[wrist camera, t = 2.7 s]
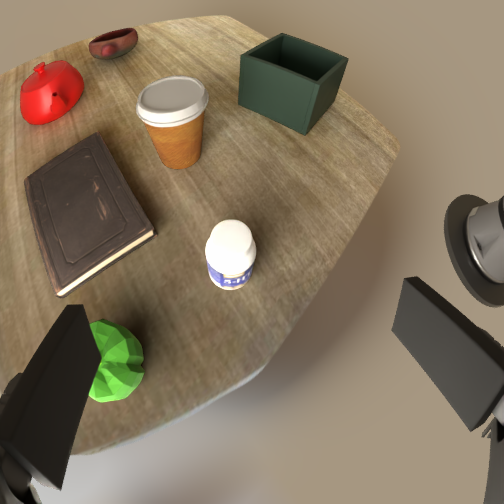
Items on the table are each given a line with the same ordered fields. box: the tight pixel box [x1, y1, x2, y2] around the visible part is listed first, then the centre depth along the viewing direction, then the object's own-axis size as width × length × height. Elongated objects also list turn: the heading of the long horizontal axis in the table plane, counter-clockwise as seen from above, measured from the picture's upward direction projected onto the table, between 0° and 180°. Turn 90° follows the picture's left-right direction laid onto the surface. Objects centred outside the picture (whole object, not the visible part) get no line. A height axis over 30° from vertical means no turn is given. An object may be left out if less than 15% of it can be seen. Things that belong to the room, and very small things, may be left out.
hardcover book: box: [24, 131, 158, 298], centre depth 37 cm, size 16×23×2 cm
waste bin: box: [238, 33, 348, 135], centre depth 45 cm, size 14×14×11 cm
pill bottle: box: [206, 219, 256, 290], centre depth 32 cm, size 5×5×9 cm
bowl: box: [89, 28, 138, 59], centre depth 52 cm, size 16×13×8 cm
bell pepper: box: [89, 319, 145, 402], centre depth 26 cm, size 8×8×10 cm
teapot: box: [20, 60, 84, 125], centre depth 42 cm, size 25×16×12 cm, turn 43°
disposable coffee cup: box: [136, 75, 209, 169], centre depth 37 cm, size 10×10×12 cm
